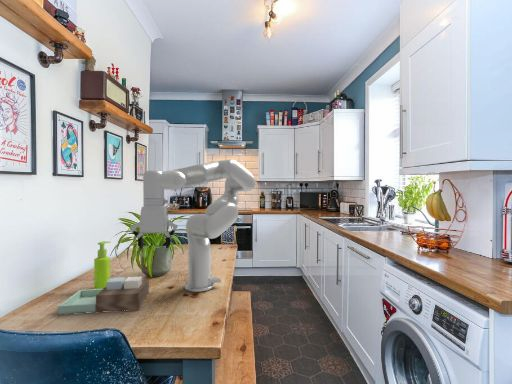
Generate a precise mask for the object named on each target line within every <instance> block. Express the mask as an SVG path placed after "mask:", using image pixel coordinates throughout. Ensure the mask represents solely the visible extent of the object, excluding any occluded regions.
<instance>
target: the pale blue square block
mask: <svg viewBox="0 0 512 384" xmlns="http://www.w3.org/2000/svg"><path fill="white" fill-rule="evenodd" d="M125 280H126V277H123V276H122V277H110V280H108V281H107V290H111V289H122V288H123V286H124V281H125Z"/></svg>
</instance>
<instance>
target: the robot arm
mask: <svg viewBox="0 0 512 384" xmlns="http://www.w3.org/2000/svg"><path fill="white" fill-rule="evenodd" d="M223 179H224V180H225V182H224V192H223V194H222V195H220V197H218V198H217V199H216V200H214V201H213V202H212V203H210V204H209V205H208V206H207V208H206V209H205V212H204V213H205V214H201V213H200V214H193V215H191V216H189V217H188V219H187V220H186V224H185V229H186V230H185V231H186V236H187V247H188V248H187V250H188V252H187V255H188V257H187V258H188V259H187V260H188V261H187V262H188V263H187V264H188V265H187V266H188V267H187V268H188V269H187V271H188V272H187V274H188V275H187V276H188V277H187V279H188V281H187V283H185V284H184V289H185V290H186V291H188V292H193V293H198V292H199V293H201V292H207V291H209V290H212V289H213V288H214V287H215V284H220V283H222V278H220V277H218V276H217V277H213V276H212V272H211V270H212V269H211V265H212V264H211V263H212V262H211V241H210V239H211V240H212V239H216V238H218V237H219V236H221V235H222V234H223V233H224V232H225V231H227V230H228V228H230V227H231V226H233V224H235V222H236V220H237V219H238V216H239V208H238V206H237V205H239V192H251V191H252V190H254V189H255V187H256V178H255V176H254V175H253V174H252V173H251V172H250V171H249V170H248V169H247V168H245V167H244V166H243V165H242V164H241V163H239V162H238V161H237V160H234V159H225V160H217V161H211V162H205V163H204V162H203V163H199V164H195V165H190V166H187V167H180V168H177V169H176V168H175V169H171V170H170V169H169V170H165V171H162V170H153V169H152V170H144V172H143V174H142V183H143V185H142V193H143V194H142V195H143V197H142V198H143V201H142V202H143V206H141V209H140V215H139V216H140V217H139V222H137V223H135V224H133V225H131V226H130V227H129V228H130V230H131V232H132V234H133V235H134V236H135V237H136V239H137V247H139V248H138V249H139V250H142V249H143V248H144V237H143V235H144V234H164V235H165V236H166V237H165V249H168V248H169V247H170V246H171V237H172V236H173V235H174V234H175V232H176V230H177V229H178V226H179V225H178V224H175V223H174V222H171V221H169V213H168V212H169V211H168V208H167V206H165V205H166V204H168V203H169V199H165V198H166V197H165V191H166V190H167V191H168V190H171V191H172V190H180V189H182V188H183V187H184V186H190V185H191V186H193V185H202V184H206V183H207V184H208V183H210V182H214V181H218V180H219V181H220V180H223ZM138 227H139V232H138V231H137V230H136V228H138ZM169 227H172V229H171V231H169V229H170V228H169Z"/></svg>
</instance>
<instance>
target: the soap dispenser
mask: <svg viewBox="0 0 512 384" xmlns="http://www.w3.org/2000/svg"><path fill="white" fill-rule="evenodd" d="M110 243H111V241H105V240H104V241H100V242H97V245H99V249H98V250H97V257H95V258H94V259H93V261H94V263H93V266H94V268H93V270H94V271H93V274H94V277H93V278H94V279H93V282H94V283H93V285H94V288H93V289H104V288H105V287H106V286H107V281H108V280H110V279H111V265H110V264H111V258H110V256H107V252H108V251H107V249H106V248H105V245H106V244H110Z"/></svg>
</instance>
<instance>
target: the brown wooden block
mask: <svg viewBox="0 0 512 384" xmlns="http://www.w3.org/2000/svg"><path fill="white" fill-rule="evenodd" d="M148 294H149V295H150V279H149V278H147V279H144V278H142V284H141V285H140V287H139V288H131V289H124V286H123V288H122V289H111V290H107V286H106V287H105V288H104V289H103V290H102V291H100V292H99V293H98V294H97V295H96V312H102V313H104V312H103V311H119V312H127V311H126V310H135V311H140V309H141V308H142V306H143V304H144V303H145V301H146V299H147V298H146V297H148V296H149V295H148ZM147 295H148V296H147ZM144 300H145V301H144ZM143 302H144V303H143ZM141 305H142V306H141ZM124 310H125V311H124Z"/></svg>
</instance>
